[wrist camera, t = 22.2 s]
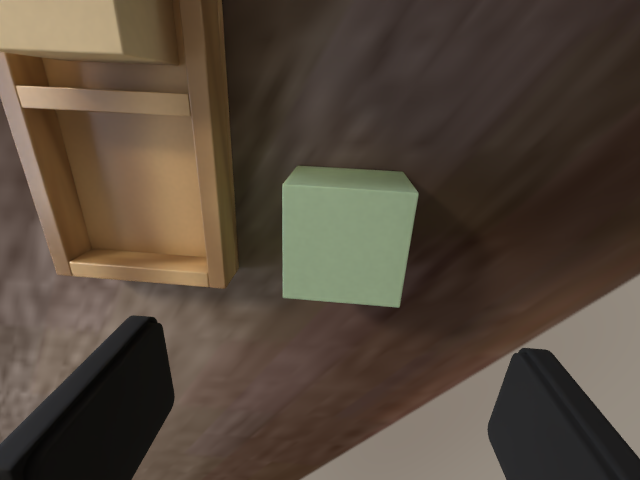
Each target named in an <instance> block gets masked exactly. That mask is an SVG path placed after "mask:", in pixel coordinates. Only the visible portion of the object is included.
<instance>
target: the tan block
mask: <svg viewBox="0 0 640 480" xmlns="http://www.w3.org/2000/svg"><path fill="white" fill-rule="evenodd" d="M0 52H5V53H12V54H20V55H27V56H35V57H42V58H50V59H57V60H64V61H81V62H105V63H128V64H151V65H174V66H178V65H179V58H178V49H177V40H176V32H175V23H174V14H173V5H172V0H0Z"/></svg>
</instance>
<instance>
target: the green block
mask: <svg viewBox="0 0 640 480" xmlns="http://www.w3.org/2000/svg"><path fill="white" fill-rule="evenodd" d="M418 195H419V193H418V192H417V190H416V189H415V188H414V186H413V185H412V183H411V182H410V181H409V179H408V178H407V177H406V175H405V174H404V173H403V172H398V171H381V170H365V169H348V168H331V167H314V166H297V167H296V168H295V169H294V170H293V172H292V173H291V174H290V176H289V177H288V178H287V180H286V181H285V182H284V183H283V185H282V207H283V298H291V299H303V300H315V301H327V302H339V303H351V304H363V305H375V306H387V307H400V301H401V295H402V289H403V283H404V278H405V272H406V266H407V260H408V254H409V248H410V242H411V236H412V230H413V224H414V218H415V213H416V207H417V201H418Z"/></svg>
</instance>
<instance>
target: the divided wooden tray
mask: <svg viewBox="0 0 640 480" xmlns="http://www.w3.org/2000/svg"><path fill="white" fill-rule="evenodd" d="M172 5H173V14H174V23H175V32H176V40H177V49H178V58H179V65H178V66H174V65H151V64H128V63H105V62H81V61H64V60H57V59H50V58H42V57H35V56H27V55H20V54H12V53H5V52H0V98H1V101H2V104H3V107H4V110H5V113H6V116H7V119H8V123H9V126H10V129H11V132H12V135H13V138H14V141H15V144H16V147H17V151H18V154H19V157H20V160H21V163H22V166H23V169H24V172H25V175H26V179H27V182H28V185H29V188H30V191H31V194H32V197H33V200H34V204H35V207H36V210H37V213H38V216H39V219H40V222H41V225H42V228H43V232H44V235H45V238H46V241H47V244H48V247H49V250H50V253H51V256H52V260H53V263H54V266H55V269H56V272H57V274H58V275H65V276H79V277H91V278H103V279H115V280H127V281H139V282H152V283H164V284H176V285H188V286H200V287H209V286H210V287H211V288H223V289H225V288H226V287H227V286H228V284H229V282H230V281H231V279H232V278H233V276H234V275H235V273H236V272H237V271H238V269H239V260H238V244H237V228H236V213H235V197H234V182H233V166H232V151H231V135H230V119H229V104H228V88H227V73H226V57H225V42H224V26H223V10H222V0H172Z"/></svg>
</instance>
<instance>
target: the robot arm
mask: <svg viewBox="0 0 640 480" xmlns="http://www.w3.org/2000/svg"><path fill="white" fill-rule="evenodd" d="M173 403H174V389H173V384H172V378H171V372H170V367H169V361H168V355H167V349H166V344H165V338H164V332H163V327H162V325H161V324H160V323H157V320H156V319H155V318H154V317H146V316H130V317H129V318H127V319H126V320H125V321H124V322H123V323H122V324H121V325H120V326H119V327H118V328H117V329H116V330H115V331H114V332H113V333H112V334H111V335H110V336H109V337H108V338H107V339H106V340H105V341H104V342H103V343H102V344H101V345H100V346H99V347H98V348H97V349H96V350H95V351H94V352H93V353H92V354H91V355H90V356H89V357H88V358H87V359H86V360H85V361H84V362H83V363H82V364H81V365H80V366H79V367H78V368H77V369H76V370H75V371H74V372H73V373H72V374H71V375H70V376H69V377H68V378H67V379H66V380H65V381H64V382H63V383H62V384H61V385H60V386H59V387H58V388H57V389H56V390H55V391H54V392H52V393H51V394H50V395H49V396H48V397H47V398H46V399H45V400H44V401H43V402H42V403H41V404H40V405H39V406H38V407H37V408H36V409H35V410H34V411H33V412H32V413H31V414H30V415H29V416H28V417H27V418H26V419H25V420H24V421H23V422H22V423H21V424H20V425H19V426H18V427H17V428H16V429H15V430H14V431H13V432H12V433H11V434H10V435H9V436H8V437H7V438H6V439H5V440H4V441H3V442H2V443H1V444H0V480H131V479H132V478H133V476H134V474H135V472H136V470H137V469H138V467H139V465H140V463H141V462H142V460H143V458H144V456H145V455H146V453H147V451H148V449H149V448H150V446H151V444H152V442H153V441H154V439H155V437H156V435H157V434H158V432H159V430H160V428H161V427H162V425H163V423H164V421H165V419H166V418H167V416H168V414H169V412H170V411H171V409H172V406H173ZM488 436H489V440H490V442H491V445H492V447H493V449H494V452H495V454H496V456H497V459H498V461H499V463H500V466H501V468H502V470H503V473H504V475H505V477H506V480H640V459H639V458H638V456H637V455H636V454H635V453H634V451H633V450H632V449H631V448H630V447H629V445H628V444H627V443H626V442H625V441H624V440H623V438H622V437H621V436H620V435H619V433H618V432H617V431H616V430H615V428H614V427H613V426H612V425H611V424H610V422H609V421H608V420H607V419H606V418H605V416H604V415H603V414H602V413H601V412H600V410H599V409H598V408H597V407H596V406H595V404H594V403H593V402H592V401H591V400H590V398H589V397H588V396H587V395H586V394H585V392H584V391H583V390H582V389H581V388H580V386H579V385H578V384H577V383H576V382H575V380H574V379H573V378H572V377H571V376H570V374H569V373H568V372H567V371H566V369H565V368H564V367H563V366H562V365H561V363H560V362H559V361H558V360H557V359H556V357H555V356H554V355H553V354H552V353H551V352H550V351H548V350H542V349H530V348H522V349H521V350H520V351H519V352H518V353H515V354H514V355H513V356H512V358H511V361H510V364H509V367H508V370H507V372H506V375H505V378H504V381H503V384H502V386H501V389H500V392H499V395H498V398H497V401H496V404H495V406H494V409H493V412H492V415H491V418H490V421H489V423H488Z"/></svg>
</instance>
